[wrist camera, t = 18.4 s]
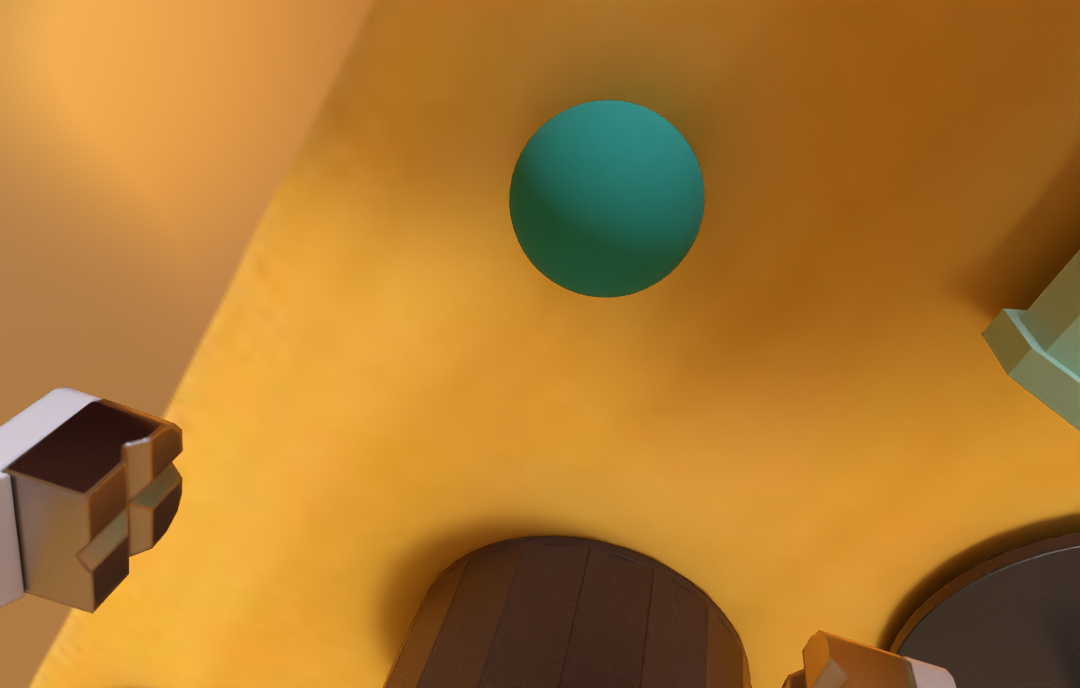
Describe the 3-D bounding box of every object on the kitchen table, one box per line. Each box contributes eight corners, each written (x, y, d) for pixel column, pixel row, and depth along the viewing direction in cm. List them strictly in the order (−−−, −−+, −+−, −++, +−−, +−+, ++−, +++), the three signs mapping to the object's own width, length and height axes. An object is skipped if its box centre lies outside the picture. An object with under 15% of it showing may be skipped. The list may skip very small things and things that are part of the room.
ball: (554, 61, 22) (512, 97, 18) (732, 112, 22) (733, 162, 18) (515, 227, 25) (469, 295, 20) (674, 276, 24) (662, 355, 20)
